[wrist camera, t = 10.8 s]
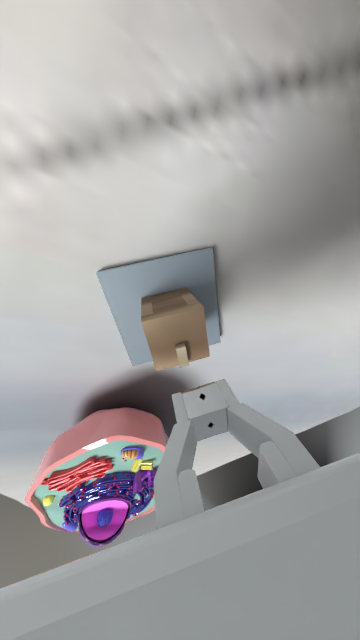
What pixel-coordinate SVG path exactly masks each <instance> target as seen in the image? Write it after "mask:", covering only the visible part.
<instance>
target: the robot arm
mask: <svg viewBox="0 0 360 640" xmlns="http://www.w3.org/2000/svg"><path fill="white" fill-rule="evenodd" d="M172 400H173V405H174V410H175V416H176V421H177V424H175V425H174V427H173V429H172V432H171V435H170V437H169V440H168V443H167V445H166V448H165V451H164V453H163V456H162V459H161V462H160V464H159V467H158V470H157V472H156V475H155V478H154V498H155V519H156V530H154V531H152V532H149V533H146V534H144V535H141V536H138V537H136V538H133V539H131V540H128V541H126V542H123V543H120V544H118V545H115V546H112V547H109V548H107V549H104V550H102V551H99V552H96V553H94V554H91V555H88V556H86V557H83V558H80V559H78V560H75V561H73V562H70V563H67V564H65V565H62V566H59V567H57V568H54V569H52V570H49V571H46V572H44V573H41V574H38V575H36V576H33V577H30V578H28V579H25V580H23V581H20V582H17V583H15V584H12V585H9V586H7V587H4V588H1V589H0V640H360V453H357V454H355V455H352V456H349V457H347V458H344V459H342V460H339V461H336V462H334V463H331V464H328V465H326V466H323V467H320V466H319V465H318V464H317V463H316V462H315V460H314V459H313V457H311V455H310V454H309V452H308V451H307V450H306V449H305V447H304V446H303V445H302V444H301V442H300V441H299V440H298V439H297V437H296V436H295V435H294V433H293V432H291V431H290V430H288V429H286V428H285V427H283V426H281V425H279V424H278V423H276V422H274V421H273V420H271V419H269V418H267V417H266V416H264V415H262V414H261V413H259V412H257V411H255V410H254V409H252V408H250V407H249V406H247V405H245V404H244V403H241V404H240V403H239V401H238V400H237V398H236V396H235V395H234V393H233V392H232V390H231V388H230V387H229V385H228V383H227V382H226V380H225V379H223V380H219V381H216V382H212V383H209V384H206V385H203V386H199V387H197V388H193V389H190V390H186V391H182V392H179V393H175V394H172ZM228 431H229V433H230V434H231V435H232V436H233V437H235V438H236V439H237V440H238V441H239V442H240V443H241V444H243V445H244V446H245V447H246V448H247V449H248V450H249V451H251V452H252V453H253V454H254V455H255V456H256V457H258V458H259V466H258V478H259V481H260V483H261V485H262V487H263V490H260V491H257V492H254V493H252V494H249V495H247V496H244V497H241V498H239V499H236V500H233V501H231V502H228V503H225V504H223V505H220V506H218V507H215V508H212V509H210V510H207V511H205V508H204V504H203V499H202V496H201V492H200V489H199V485H198V481H197V477H196V474H195V471H194V470H192V466H193V461H194V456H195V451H196V446H197V442H198V441H200V440H203V439H206V438H209V437H211V436H214V435H218V434H221V433H225V432H228Z"/></svg>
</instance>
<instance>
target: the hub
mask: <svg viewBox="0 0 360 640" xmlns="http://www.w3.org/2000/svg"><path fill="white" fill-rule="evenodd" d="M96 274H97V276H98V279H99V281H100V284H101V286H102V289H103V291H104V294H105V297H106V299H107V302H108V304H109V307H110V309H111V312H112V314H113V317H114V320H115V322H116V325H117V327H118V330H119V332H120V335H121V337H122V340H123V343H124V345H125V348H126V350H127V353H128V355H129V358H130V360H131V363H132V366H135V365H139V364H143V363H146V362H150V361H153V358H152V355H151V352H150V349H149V346H148V342H147V339H146V336H145V333H144V330H143V327H142V323H141V298H143V297H148V296H152V295H156V294H161V293H165V292H169V291H173V290H178V289H182V288H186V289H187V290H188V291H189V292H190V293H191V294H192V295H193V296H194V297H195V298H196V299H197V300H198V301H199V302H200V303H201V304H202V306H203V307H204V314H205V322H206V330H207V338H208V346H209V345H212V344H216V343H220V330H219V318H218V305H217V293H216V281H215V268H214V256H213V248H205V249H200V250H195V251H190V252H186V253H181V254H176V255H171V256H167V257H162V258H157V259H152V260H147V261H143V262H138V263H133V264H128V265H124V266H119V267H114V268H109V269H105V270H100V271H98V272H96Z"/></svg>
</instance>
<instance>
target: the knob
mask: <svg viewBox="0 0 360 640" xmlns="http://www.w3.org/2000/svg"><path fill="white" fill-rule="evenodd" d="M141 323H142V327H143V330H144V333H145V336H146V339H147V342H148V346H149V349H150V352H151V355H152V358H153V362H154V365H155V368H156V371H159V370H163V369H166V368H170V367H173V366H177V365H180V367H184V366H188V365H189V362H191V361H195V360H198V359H202V358H205V357H209V356H210V355H209V347H208V338H207V330H206V322H205V314H204V307H203V306H202V304H201V303H200V302H199V301H198V300H197V299H196V298H195V297H194V296H193V295H192V294H191V293H190V292H189V291H188V290H187V289H186V288H182V289H178V290H173V291H169V292H165V293H161V294H156V295H152V296H148V297H143V298H141Z"/></svg>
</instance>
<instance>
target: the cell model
mask: <svg viewBox="0 0 360 640" xmlns="http://www.w3.org/2000/svg"><path fill="white" fill-rule="evenodd" d="M168 440H169V438H168V436H167V434H166V432H165V430H164V428H163V424H162V422H161V420H160V419H159V418H158V417H157V416H155V415H153V414H151V413H148V412H145V411H142V410H139V409H134V408H124V407H123V408H115V409H103V410H99V411H96V412H94V413H92V414H90V415H89V416H88V417H86V418H85V419H83V420H82V421H81V422H79V423H78V424H76V425H75V426H74V427H72V428H70V429H69V430H67V431H65V432H64V433H62V434H61V435H60V436H58V437H57V438H56V439H55V440H54V441H53V442H52V444H51V445H50V446H49V448H48V450H47V451H46V453H45V455H44V457H43V459H42V461H41V463H40V466H39V468H38V470H37V472H36V475H35V477H34V479H33V481H32V483H31V486H30V488H29V490H28V492H27V495H26V497H25V502H26V503H27V504H28V505H29V506H30V507H31V508H32V509H33V510H34V511H35V512H36V513H37V515H38V516H39V517H40V521H41V523H42V524H44V525H45V526H47V527H49V528H52V529H56V530H61V531H67V532H73V533H77V532H78V533H80V536H81V537H82V539H83V540H84V541H85V543H87V544H88V545H90V546H92V547H103V546H106V545H107V544H109V543H110V542H112V541H113V540H114V539H115V538H116V537H117V536H118V535H119V534H120V533H121V531H122V530H123V527H124V525H125V524H126V522H127V521H130V520H132V519H135V518H138V517H141V516H144V515H147V514H149V513H150V512H152V511H154V510H155V498H154V478H155V475H156V472H157V470H158V467H159V464H160V462H161V459H162V456H163V453H164V451H165V448H166V445H167V443H168Z"/></svg>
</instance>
